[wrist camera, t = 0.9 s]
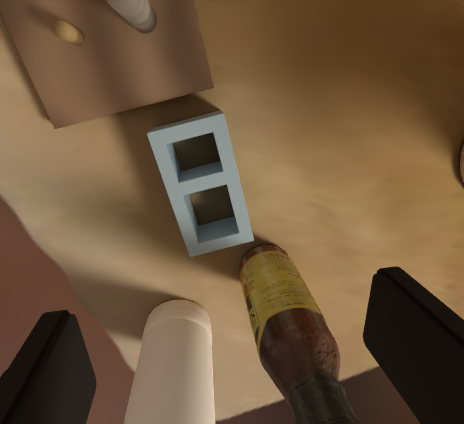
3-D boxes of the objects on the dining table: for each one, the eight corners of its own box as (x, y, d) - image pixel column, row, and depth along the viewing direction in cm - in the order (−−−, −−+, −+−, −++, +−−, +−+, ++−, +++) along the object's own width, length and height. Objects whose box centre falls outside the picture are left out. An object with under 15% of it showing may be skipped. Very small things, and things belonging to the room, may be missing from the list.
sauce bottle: (227, 261, 34) (260, 466, 15) (273, 231, 33) (365, 411, 14) (258, 297, 36) (318, 511, 18) (301, 270, 35) (411, 466, 17)
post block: (171, -85, 22) (155, -182, 14) (213, 87, 26) (218, 87, 19) (-13, -37, 22) (-133, -107, 14) (62, 127, 26) (4, 143, 19)
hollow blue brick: (248, 223, 32) (254, 240, 28) (191, 238, 32) (189, 257, 28) (220, 109, 27) (224, 113, 24) (153, 127, 27) (146, 133, 24)
